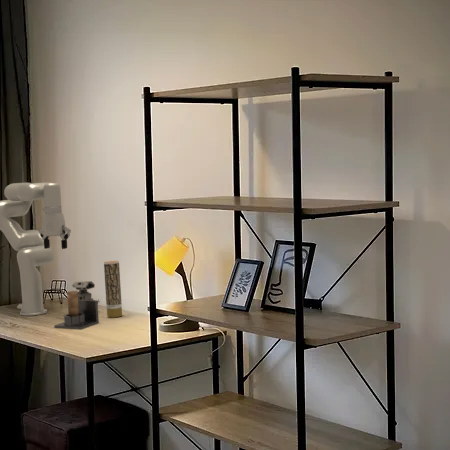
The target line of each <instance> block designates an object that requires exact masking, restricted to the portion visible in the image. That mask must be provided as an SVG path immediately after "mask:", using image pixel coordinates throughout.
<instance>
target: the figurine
mask: <svg viewBox="0 0 450 450" xmlns="http://www.w3.org/2000/svg"><path fill="white" fill-rule="evenodd" d="M71 286H72V288H75V289H76V291H77V293H78V300H94V298H93V297H92V293H91V292H89V291H88V290H91V289H94V288H95V283H94V282H93V281H91V280H90V281H89V280H88V281H87V280H86V281H85V280H84V281H83V280H81V281H74V282H73V283H72V284H71ZM97 303H98V304H99V303H100V299H99V298H98V300H97Z"/></svg>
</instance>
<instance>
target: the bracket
mask: <svg viewBox="0 0 450 450" xmlns="http://www.w3.org/2000/svg"><path fill="white" fill-rule="evenodd" d="M97 301H98V300H96V299H93V300H78V308H79V316H69V313H66V314H64V315H63V322H60V323H58V324H55V325H54V327H53V328H55V329H68V330H83V329H87V328H90V327H92V326H94V325H97V324H99V310H98V309H99V302H98V303H97Z"/></svg>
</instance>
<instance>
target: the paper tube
mask: <svg viewBox="0 0 450 450" xmlns="http://www.w3.org/2000/svg"><path fill="white" fill-rule="evenodd" d="M103 269H104V270H103V271H104V286H105V287H104V288H105V289H104V290H105V301H106V302H105V304H106V316H107V317H108V318H114V319H115V318H120V317H122V315H123V304H122V290H121V289H122V287H121V275H120V274H121V273H120V271H121V270H120V261H119V260H108V261H104V262H103Z"/></svg>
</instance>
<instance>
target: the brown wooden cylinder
mask: <svg viewBox="0 0 450 450" xmlns="http://www.w3.org/2000/svg"><path fill="white" fill-rule="evenodd" d="M77 292H78V290H71V291H70V290H69V291H67V292H66V297H67V311H68V313H67V314H69V316H79V308H78V293H77Z"/></svg>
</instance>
